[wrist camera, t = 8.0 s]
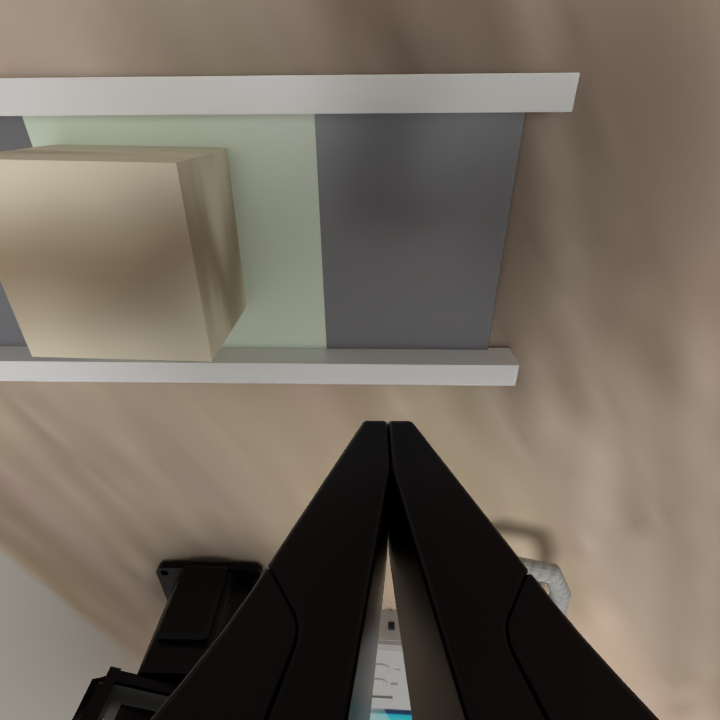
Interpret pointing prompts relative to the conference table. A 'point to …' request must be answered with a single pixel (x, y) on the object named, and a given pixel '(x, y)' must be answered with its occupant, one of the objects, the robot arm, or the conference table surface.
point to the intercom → (390, 676)
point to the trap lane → (321, 215)
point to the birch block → (120, 250)
